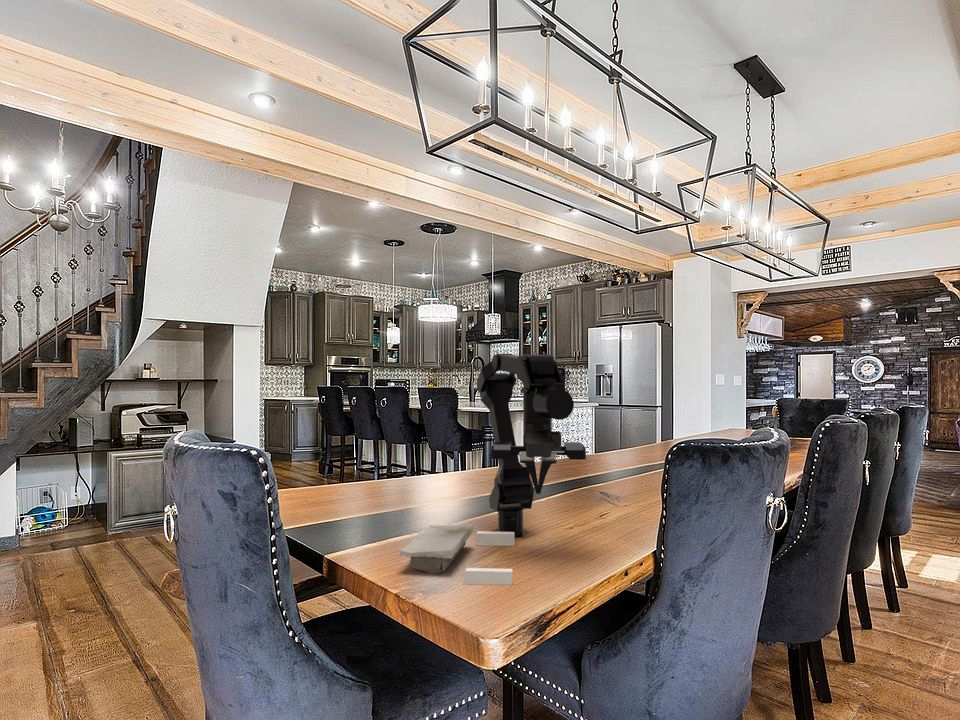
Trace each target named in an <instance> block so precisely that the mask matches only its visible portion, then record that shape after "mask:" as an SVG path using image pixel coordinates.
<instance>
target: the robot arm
mask: <svg viewBox="0 0 960 720" xmlns="http://www.w3.org/2000/svg"><path fill="white" fill-rule="evenodd" d="M498 371H499V372H498ZM500 371H502V372H500ZM517 379H518V380H519V381H520V382H521V383H522V385H523V387H521V389H520V393H521V394H523V395H522V399H523V400H522V401H523V402H522V403H523V405H522V407H523V408H522V409H523V411H522V413H523V420H522V421H523V435H522V436H523V437H522V439H523V444H522V445H517V444H516V438H515V433H514V428H513V427H514V426H513V422H512V421H513V420H512V416H511V412H510V411H511V410H510V405H509V404H510V402H511V400H512V397H513V394H514V387H515V385H516V383H517ZM564 381H565V378H564V377H563V375H562V372H561V370H560V368H559V365H558V363H557V361H556V359H555V357H554V356H553V355H552V354H522V355H521V354H520V355H515V354H513V353H496V354H493V356H492V358H491V361H490V362H489V363H487V364H486V365H484V366H483V367H482V368H481V369H480V371H479V374H478V377H477V380H476V389H477V392H478V393H479V397H480V401H481V402H482V403H483V405H484V406H485V407H486V408H487V409H488V410H489V415H490V421H491V426H492V427H491V428H492V433H493V434H492V435H493V439H494V443H492V445H491V447H490V459H491V460H497V461H498V462H497V463H498V470H497V472H496V475H495V477H494V480H493V483H494V486H493V487H492V490H491V493H490V495H489V498H488V502H489V508H490V509H492V510H493V511H495V512H497V529H496V532H514V538H517V539H518V538H523V539H524V538H526V529H525V528H524V510H527V509H530V510H531V509H532V506H533V501H534V500H533V499H534V493H535V494H536V495H537V494H538V495H541V493H542V490H543V489H542V488H543V486H544V484H545V479H546V477H547V474H548V472H549V469H550V468H551V466H552V465H553V464H555V465H556V464H557V459H556V458H557V456H566V457H567V458H568V459H569V460H586V459H587V454H586V453H587V450H586V446H585V445H584V444H583V443H582V442H579V441H575V442H574V441H569V442H567V441H564V442H563V445H562V432H561V431H556V430H555V431H553V429H552V427H553V425H552V424H553V423H552V421H553V420H558V421H561V420H565V419H566V418H568V417H570V415H571V414H572V413H573V410H574V405H575V402H574V400H573V397H572V395H571V394H570V393H569V392H568V391H567V390H566V389H565V382H564ZM535 458H540V465H539V472H538V475H537V467H536V462H535ZM522 464H524V465H525V466H523V465H522Z"/></svg>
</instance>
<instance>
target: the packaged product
mask: <svg viewBox="0 0 960 720" xmlns="http://www.w3.org/2000/svg"><path fill="white" fill-rule="evenodd" d="M474 531H475V530H474V524H450V525H449V524H448V525H447V524H444V525H443V524H441V525H440V524H438V525H429V526H428V527H427V528H426V529H425V530H424V531H423V532H418V534H417V535H416V537H414V538H413V540H412V541H410V543H409V544H408V545H406V546H404V547H403V548H402V549H400V550H399V557H402V556H405V558H410V560H409V563H410V566H411V568H413V569H416V570H420V571H423V572H426V573H429V574H438V573H441V572H445V571H446V570H447V568H448V567H449V566H450V565H451V563H452V562H453V560H455V558H457V556H458V555H459V553H461V551H462V550H463V549H464V547H465V546H466V543H467V541H468V539H469V538H470V537H471V535H472V534H473V533H474Z"/></svg>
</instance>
